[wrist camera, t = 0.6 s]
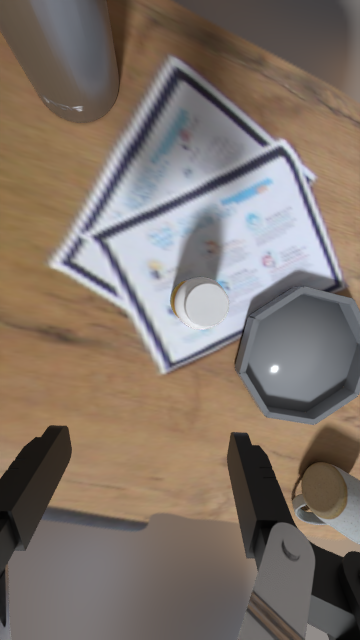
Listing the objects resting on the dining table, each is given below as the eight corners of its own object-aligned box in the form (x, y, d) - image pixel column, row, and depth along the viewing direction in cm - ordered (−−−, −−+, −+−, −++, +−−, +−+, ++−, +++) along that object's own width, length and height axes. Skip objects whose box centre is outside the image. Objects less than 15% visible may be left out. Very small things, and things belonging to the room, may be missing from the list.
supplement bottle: (176, 326, 29) (187, 343, 20) (164, 286, 29) (169, 285, 19) (215, 313, 30) (243, 325, 20) (204, 274, 29) (228, 267, 19)
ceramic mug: (316, 447, 34) (360, 493, 27) (353, 470, 36) (405, 519, 28) (276, 500, 35) (309, 559, 28) (314, 520, 37) (355, 581, 29)
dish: (256, 277, 30) (265, 276, 27) (370, 306, 32) (387, 307, 30) (223, 402, 32) (229, 411, 29) (333, 420, 34) (347, 430, 32)
